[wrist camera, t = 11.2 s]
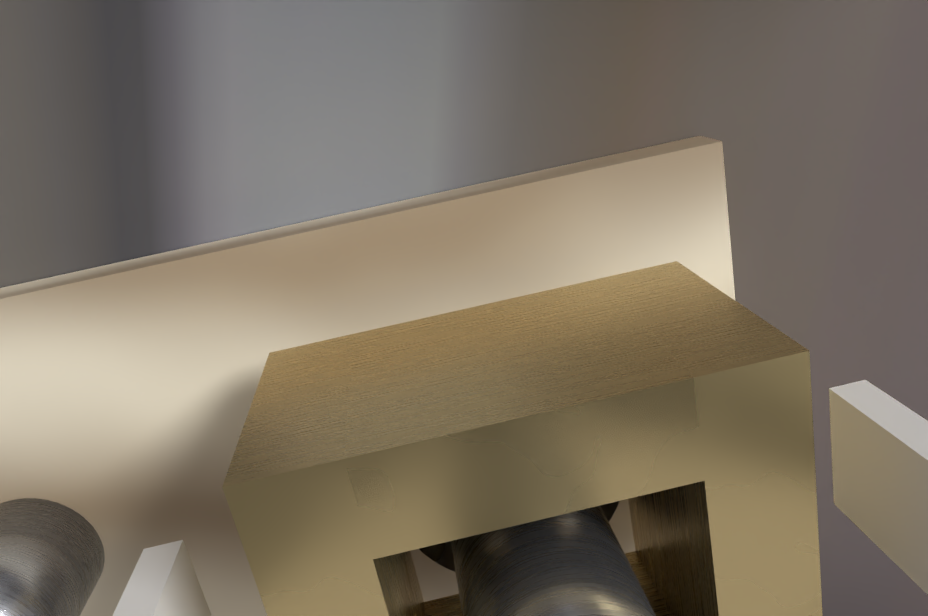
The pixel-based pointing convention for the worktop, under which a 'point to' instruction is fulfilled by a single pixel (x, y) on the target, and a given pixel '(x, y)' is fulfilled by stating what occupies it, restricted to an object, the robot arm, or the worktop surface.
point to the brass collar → (538, 448)
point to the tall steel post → (545, 569)
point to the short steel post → (46, 559)
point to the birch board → (300, 338)
